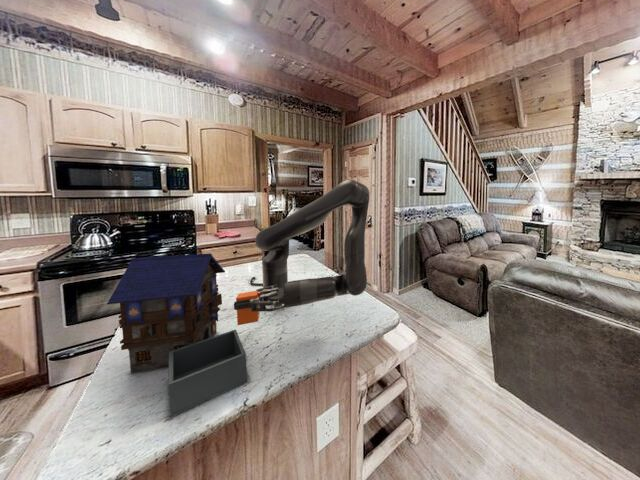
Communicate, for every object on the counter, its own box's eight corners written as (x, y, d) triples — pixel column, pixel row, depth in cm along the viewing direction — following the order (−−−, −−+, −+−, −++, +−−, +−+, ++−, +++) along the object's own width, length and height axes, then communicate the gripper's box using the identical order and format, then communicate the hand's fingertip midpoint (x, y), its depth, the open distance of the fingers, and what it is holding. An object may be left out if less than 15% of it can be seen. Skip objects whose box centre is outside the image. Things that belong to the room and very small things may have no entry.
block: (240, 319, 74) (238, 293, 73) (259, 316, 75) (258, 290, 75) (237, 325, 71) (235, 298, 70) (258, 321, 73) (256, 294, 72)
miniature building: (207, 366, 71) (200, 263, 69) (110, 382, 65) (100, 270, 63) (233, 328, 89) (229, 245, 87) (160, 338, 83) (153, 249, 81)
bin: (171, 379, 66) (168, 351, 66) (237, 353, 76) (235, 329, 76) (170, 417, 56) (168, 385, 55) (247, 381, 66) (245, 353, 65)
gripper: (301, 272, 84) (240, 280, 77) (301, 289, 71) (228, 301, 65) (301, 294, 85) (241, 304, 78) (302, 314, 72) (230, 329, 65)
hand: (236, 302), depth 71 cm, fingers closed on block, 3 cm apart
